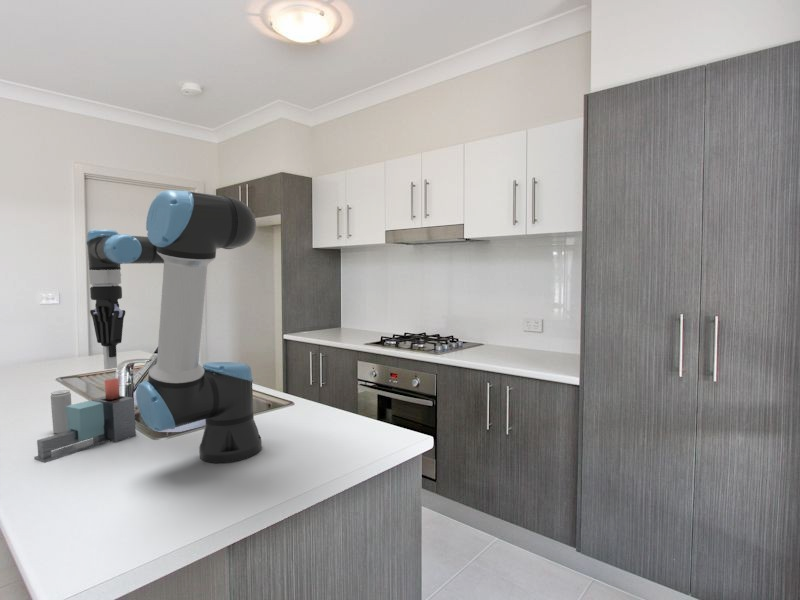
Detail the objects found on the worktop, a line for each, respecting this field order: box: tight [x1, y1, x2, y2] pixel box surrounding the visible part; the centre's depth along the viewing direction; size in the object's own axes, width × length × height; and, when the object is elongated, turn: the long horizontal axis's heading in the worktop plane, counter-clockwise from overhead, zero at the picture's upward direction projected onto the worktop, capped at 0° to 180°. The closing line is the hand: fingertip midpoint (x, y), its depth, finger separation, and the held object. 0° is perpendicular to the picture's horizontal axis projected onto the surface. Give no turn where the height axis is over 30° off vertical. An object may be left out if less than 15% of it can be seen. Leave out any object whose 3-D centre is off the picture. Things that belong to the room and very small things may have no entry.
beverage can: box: [50, 389, 72, 435], centre depth 137 cm, size 5×5×12 cm
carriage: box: [66, 400, 104, 442], centre depth 125 cm, size 6×6×9 cm
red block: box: [104, 377, 121, 399], centre depth 131 cm, size 3×3×5 cm
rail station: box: [33, 395, 137, 463], centre depth 125 cm, size 10×22×11 cm, turn 153°
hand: (110, 368), depth 131 cm, fingers closed
